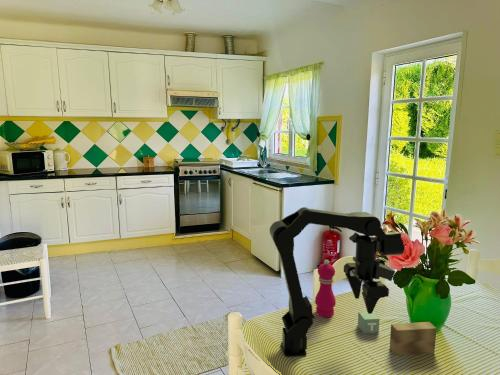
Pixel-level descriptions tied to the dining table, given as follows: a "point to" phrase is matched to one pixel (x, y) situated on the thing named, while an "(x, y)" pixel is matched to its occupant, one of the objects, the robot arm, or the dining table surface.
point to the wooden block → (412, 338)
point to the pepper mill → (325, 290)
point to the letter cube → (368, 322)
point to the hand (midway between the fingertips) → (363, 305)
